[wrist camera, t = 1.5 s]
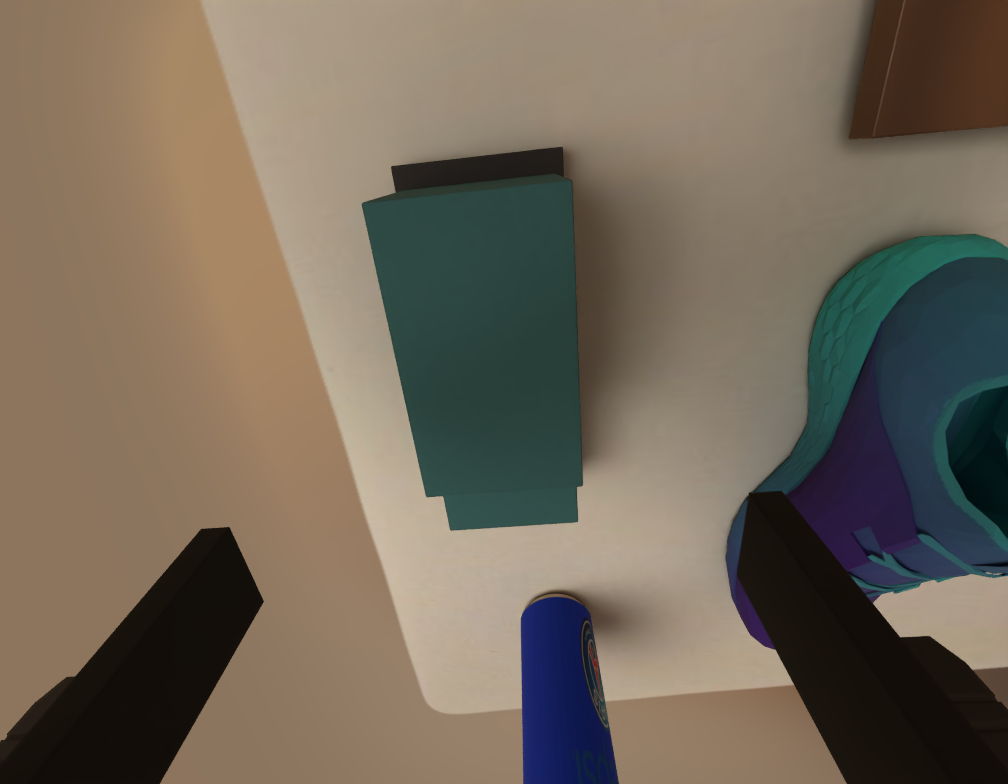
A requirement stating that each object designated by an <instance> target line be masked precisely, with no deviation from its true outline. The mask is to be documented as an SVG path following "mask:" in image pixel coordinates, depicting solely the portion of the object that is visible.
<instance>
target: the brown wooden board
mask: <svg viewBox="0 0 1008 784" xmlns="http://www.w3.org/2000/svg"><path fill="white" fill-rule="evenodd" d="M1000 126H1008V0H878V3H877V8H876V12H875V17H874V22H873V26H872V31H871V36H870V41H869V45H868V50H867V55H866V59H865V64H864V69H863V74H862V78H861V83H860V88H859V92H858V97H857V102H856V106H855V111H854V116H853V121H852V125H851V130H850V135H849V139H870V138H882V137H892V136H903V135H914V134H925V133H936V132H946V131H957V130H968V129H979V128H989V127H1000Z"/></svg>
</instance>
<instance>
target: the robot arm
mask: <svg viewBox="0 0 1008 784" xmlns="http://www.w3.org/2000/svg"><path fill="white" fill-rule="evenodd" d="M736 576H737V578H738V580H739V582H740V584H741V586H742V587H743V589H744V591H745V593H746V595H747V597H748V599H749V601H750V603H751V604H752V606H753V608H754V610H755V612H756V614H757V616H758V618H759V619H760V621H761V623H762V625H763V627H764V629H765V631H766V633H767V634H768V636H769V638H770V640H771V642H772V644H773V646H774V648H775V649H776V651H777V653H778V655H779V657H780V659H781V661H782V663H783V665H784V666H785V668H786V670H787V672H788V674H789V676H790V678H791V680H792V681H793V683H794V685H795V687H796V689H797V691H798V693H799V694H800V696H801V698H802V700H803V702H804V704H805V706H806V708H807V710H808V712H809V713H810V715H811V717H812V719H813V721H814V723H815V725H816V727H817V728H818V730H819V732H820V734H821V736H822V738H823V740H824V742H825V743H826V745H827V747H828V749H829V751H830V753H831V755H832V757H833V759H834V760H835V762H836V764H837V766H838V768H839V770H840V772H841V774H842V775H843V777H844V779H845V781H846V783H847V784H1008V709H1007V708H1006V707H1005V706H1004V705H1003V704H1002V703H1001V702H998V701H997V700H996V699H995V695H994V694H993V692H992V691H991V690H990V689H989V688H988V687H987V686H986V685H985V684H984V682H983V681H982V680H981V679H980V678H979V677H978V676H977V675H976V674H975V672H974V671H973V670H972V669H971V668H970V667H969V666H968V665H967V664H966V663H965V662H964V661H963V660H961V659H960V658H959V657H957V656H956V655H955V654H953V653H952V652H950V651H949V650H948V649H946V648H945V647H944V646H942V645H941V644H940V643H938V642H937V641H935V640H934V639H933V638H931V637H930V636H921V637H899V635H898V634H897V633H896V632H895V630H894V629H893V628H892V627H891V625H890V624H889V623H888V622H887V621H886V619H885V618H884V617H883V616H882V614H881V613H880V612H879V611H878V609H877V608H876V607H875V606H874V604H873V603H872V602H871V601H870V599H869V598H868V597H867V596H866V594H865V593H864V592H863V591H862V590H861V588H860V587H859V586H858V585H857V583H856V582H855V581H854V580H853V578H852V577H851V576H850V575H849V573H848V572H847V571H846V570H845V568H844V567H843V566H842V565H841V564H840V562H839V561H838V560H837V559H836V557H835V556H834V555H833V554H832V552H831V551H830V550H829V549H828V547H827V546H826V545H825V544H824V542H823V541H822V540H821V539H820V538H819V536H818V535H817V534H816V533H815V531H814V530H813V529H812V528H811V526H810V525H809V524H808V523H807V521H806V520H805V519H804V518H803V516H802V515H801V514H800V513H799V511H798V510H797V509H796V508H795V507H794V505H793V504H792V503H791V502H790V500H789V499H788V498H787V497H786V495H785V494H784V493H783V492H782V491H769V492H754V493H749V496H748V503H747V509H746V515H745V522H744V528H743V535H742V541H741V547H740V554H739V560H738V567H737V573H736ZM263 602H264V601H263V599H262V596H261V594H260V592H259V590H258V588H257V586H256V583H255V581H254V579H253V577H252V575H251V573H250V571H249V569H248V566H247V564H246V562H245V560H244V558H243V556H242V553H241V551H240V549H239V547H238V545H237V542H236V540H235V538H234V536H233V534H232V532H231V529H230V528H229V527H224V528H211V529H210V528H208V529H201V530H200V531H199V532H198V533H197V535H196V536H195V537H194V538H193V539H192V541H191V542H190V543H189V544H188V545H187V546H186V548H185V549H184V550H183V551H182V552H181V554H180V555H179V556H178V557H177V558H176V559H175V560H174V562H173V563H172V564H171V565H170V566H169V568H168V569H167V570H166V571H165V572H164V573H163V575H162V576H161V577H160V578H159V579H158V580H157V582H156V583H155V584H154V585H153V586H152V587H151V589H150V590H149V591H148V592H147V593H146V594H145V596H144V597H143V598H142V599H141V600H140V602H139V603H138V604H137V605H136V606H135V607H134V608H133V610H132V611H131V612H130V613H129V614H128V615H127V617H126V618H125V619H124V620H123V621H122V623H121V624H120V625H119V626H118V627H117V628H116V630H115V631H114V632H113V633H112V634H111V635H110V637H109V638H108V639H107V640H106V641H105V642H104V644H103V645H102V646H101V647H100V648H99V649H98V651H97V652H96V653H95V654H94V655H93V657H92V658H91V659H90V660H89V661H88V662H87V664H86V665H85V666H84V667H83V668H82V669H81V671H80V672H79V673H78V674H77V675H76V676H75V677H66V678H65V679H64V680H62V681H61V682H60V683H59V684H57V685H56V686H55V687H54V688H52V689H51V690H50V691H49V692H48V693H46V694H45V695H44V696H43V697H42V698H40V699H39V700H38V701H37V702H35V703H34V704H33V705H32V706H31V708H30V709H29V710H28V711H27V712H26V713H25V714H24V716H23V717H22V718H21V719H20V720H19V721H18V722H17V723H16V725H15V726H14V727H13V728H12V729H11V730H10V731H9V732H8V733H7V738H6V739H5V740H1V742H0V784H160V782H161V780H162V779H163V777H164V775H165V773H166V771H167V770H168V768H169V766H170V765H171V763H172V761H173V760H174V758H175V756H176V754H177V752H178V751H179V749H180V747H181V745H182V744H183V742H184V740H185V739H186V737H187V735H188V733H189V732H190V730H191V728H192V726H193V724H194V723H195V721H196V719H197V718H198V716H199V714H200V712H201V711H202V709H203V707H204V705H205V704H206V702H207V700H208V698H209V697H210V695H211V693H212V691H213V690H214V688H215V686H216V684H217V682H218V681H219V679H220V677H221V676H222V674H223V672H224V670H225V669H226V667H227V665H228V663H229V662H230V660H231V658H232V656H233V655H234V653H235V651H236V649H237V647H238V646H239V644H240V642H241V640H242V639H243V637H244V635H245V634H246V632H247V630H248V628H249V627H250V625H251V623H252V621H253V620H254V618H255V616H256V614H257V613H258V611H259V609H260V607H261V606H262V604H263Z"/></svg>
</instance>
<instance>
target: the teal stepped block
mask: <svg viewBox="0 0 1008 784" xmlns="http://www.w3.org/2000/svg"><path fill="white" fill-rule="evenodd" d="M391 169H392V175H393V180H394V185H395V191H396V193H393V194H390V195H387V196H383V197H380V198H377V199H374V200H370V201H367V202H364V203H362V208H363V213H364V217H365V222H366V226H367V231H368V235H369V240H370V244H371V249H372V253H373V258H374V262H375V267H376V272H377V276H378V281H379V285H380V290H381V294H382V299H383V303H384V308H385V312H386V317H387V321H388V326H389V331H390V335H391V340H392V344H393V349H394V353H395V358H396V362H397V367H398V371H399V376H400V380H401V385H402V390H403V394H404V399H405V403H406V408H407V412H408V417H409V421H410V426H411V430H412V435H413V439H414V444H415V449H416V453H417V458H418V462H419V467H420V471H421V476H422V480H423V485H424V489H425V494H426V497H437V496H443V497H444V502H445V507H446V512H447V517H448V522H449V527H450V530H466V529H481V528H497V527H512V526H527V525H542V524H557V523H573V522H578V509H577V487H579V486H582V485H583V475H582V446H581V417H580V388H579V359H578V330H577V301H576V272H575V243H574V214H573V185H572V180H570V179H567V178H565V177H564V165H563V147H556V148H547V149H538V150H530V151H521V152H512V153H503V154H495V155H486V156H477V157H469V158H460V159H451V160H442V161H434V162H425V163H416V164H408V165H399V166H392V167H391Z"/></svg>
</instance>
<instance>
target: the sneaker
mask: <svg viewBox="0 0 1008 784" xmlns="http://www.w3.org/2000/svg"><path fill="white" fill-rule="evenodd" d="M808 386H809V414H808V423H807V427H806V428H805V430H804V432H803V434H802V436H801V438H800V439H799V441H798V443H797V445H796V447H795V449H794V450H793V452H792V454H791V456H790V457H789V458H788V459H787V460H786V461H785V462H784V463H783V464H782V465H781V466H780V467H779V468H778V469H776V470H775V471H774V472H773V473H772V474H771V475H770V476H769V477H768V478H767V479H766V480H765V481H764V482H763V483H762V484H761V485H760V486H759V487H758V488H757V489H756V490H755V491H754V492H769V491H782V492H783V493H784V494H785V495H786V497H787V498H788V499H789V500H790V502H791V503H792V504H793V505H794V507H795V508H796V509H797V510H798V511H799V513H800V514H801V515H802V516H803V518H804V519H805V520H806V521H807V523H808V524H809V525H810V526H811V528H812V529H813V530H814V531H815V533H816V534H817V535H818V536H819V538H820V539H821V540H822V541H823V542H824V544H825V545H826V546H827V547H828V549H829V550H830V551H831V552H832V554H833V555H834V556H835V557H836V559H837V560H838V561H839V562H840V564H841V565H842V566H843V567H844V568H845V570H846V571H847V572H848V573H849V575H850V576H851V577H852V578H853V580H854V581H855V582H856V583H857V585H858V586H859V587H860V588H861V590H862V591H863V592H864V593H865V594H866V596H867V597H868V598H869V599H870V601H871V602H872V603H873V602H874V601H875V600H876V599H877V598H878V597H879V596H880V595H881V594H884V593H888V592H893V591H894V593H900V592H903V591H906V590H910V589H913V588H916V587H919V585H920V584H921V583H923V582H926V581H930V580H936V581H937V582H941V581H944V580H947V579H950V578H953V577H958V576H966V575H969V574H975V575H980V576H985V577H992V578H996V577H1003V576H1008V248H1007V247H1006V246H1004V245H1003V244H1001V243H999V242H997V241H996V240H994V239H990V238H987V237H983V236H980V235H976V234H966V235H942V236H921V237H916V238H913V239H910V240H907V241H905V242H902V243H899V244H897V245H894V246H892V247H889V248H886V249H884V250H882V251H880V252H878V253H875V254H874V255H872V256H870V257H868V258H867V259H865V260H863V261H861V262H860V263H858V264H857V265H856V266H855V267H854V268H853V269H852V270H851V271H849V272H848V273H847V274H846V275H845V276H844V277H843V278H842V279H840V280H839V281H838V283H837V284H836V285H835V287H834V288H833V289H832V291H831V292H830V293H829V295H828V296H827V298H826V300H825V302H824V304H823V306H822V308H821V310H820V312H819V314H818V317H817V320H816V324H815V328H814V332H813V335H812V339H811V343H810V349H809V366H808ZM754 492H753V493H754ZM747 503H748V499H747V500H746V501H745V502H744V503H743V504H742V505H741V508H740V510H739V513H738V515H737V517H736V519H735V521H734V522H733V524H732V527H731V532H730V535H729V537H728V540H727V553H726V564H727V570H728V577H729V583H730V590H731V596H732V599H733V601H734V604H735V606H736V608H737V610H738V612H739V614H740V617H741V619H742V621H743V622H744V624H745V626H746V628H747V630H748V632H749V633H750V635H751V636H752V637H754V638H755V639H756V640H757V641H759V642H760V643H761V644H762V645H763V646H765V647H768V648H771V649H775V648H774V646H773V644H772V642H771V640H770V638H769V636H768V634H767V633H766V631H765V629H764V627H763V625H762V623H761V621H760V619H759V618H758V616H757V614H756V612H755V610H754V608H753V606H752V604H751V603H750V601H749V599H748V597H747V595H746V593H745V591H744V589H743V587H742V586H741V584H740V582H739V580H738V578H737V576H736V573H737V567H738V560H739V554H740V547H741V541H742V535H743V528H744V522H745V515H746V509H747ZM985 572H989V573H992V574H987V573H985ZM997 573H1003V574H1000V575H993V574H997ZM775 650H776V649H775Z"/></svg>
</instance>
